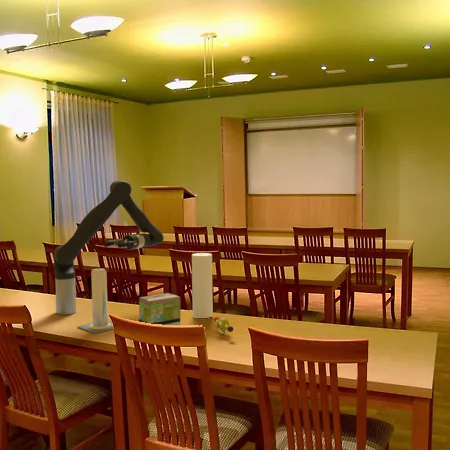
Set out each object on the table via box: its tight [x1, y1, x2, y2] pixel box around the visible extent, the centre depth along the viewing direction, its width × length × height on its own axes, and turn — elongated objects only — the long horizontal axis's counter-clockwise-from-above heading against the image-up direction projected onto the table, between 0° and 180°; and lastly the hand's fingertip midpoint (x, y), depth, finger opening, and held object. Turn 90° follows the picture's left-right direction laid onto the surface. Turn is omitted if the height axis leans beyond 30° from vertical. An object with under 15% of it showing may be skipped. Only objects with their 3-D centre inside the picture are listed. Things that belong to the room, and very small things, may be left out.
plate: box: [77, 320, 114, 335], centre depth 223 cm, size 14×14×1 cm
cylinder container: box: [191, 252, 214, 319], centre depth 239 cm, size 9×9×30 cm
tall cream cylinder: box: [90, 268, 109, 327], centre depth 222 cm, size 6×6×25 cm
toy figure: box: [213, 316, 234, 335], centre depth 211 cm, size 18×6×7 cm, turn 21°
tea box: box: [138, 292, 181, 326], centre depth 217 cm, size 15×10×15 cm, turn 129°
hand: (111, 245), depth 240 cm, fingers open, 8 cm apart
